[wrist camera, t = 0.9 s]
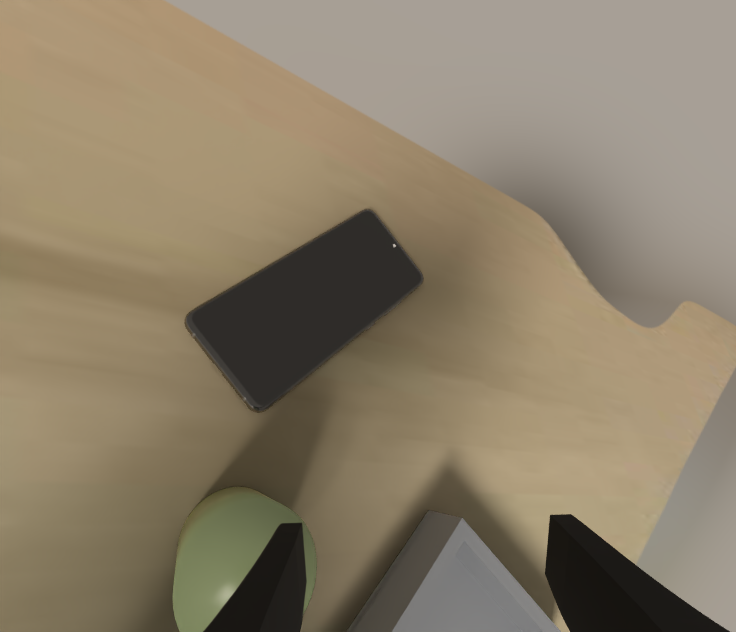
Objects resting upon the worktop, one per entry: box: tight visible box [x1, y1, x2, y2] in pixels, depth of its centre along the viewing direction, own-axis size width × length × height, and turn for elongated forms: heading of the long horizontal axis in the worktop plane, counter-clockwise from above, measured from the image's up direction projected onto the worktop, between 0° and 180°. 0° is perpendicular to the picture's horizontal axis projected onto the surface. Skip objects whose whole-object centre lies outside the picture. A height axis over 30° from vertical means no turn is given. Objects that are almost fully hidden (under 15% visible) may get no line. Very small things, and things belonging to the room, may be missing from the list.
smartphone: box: [185, 210, 423, 413], centre depth 26 cm, size 7×1×16 cm
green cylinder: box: [172, 487, 317, 632], centre depth 17 cm, size 5×5×7 cm
